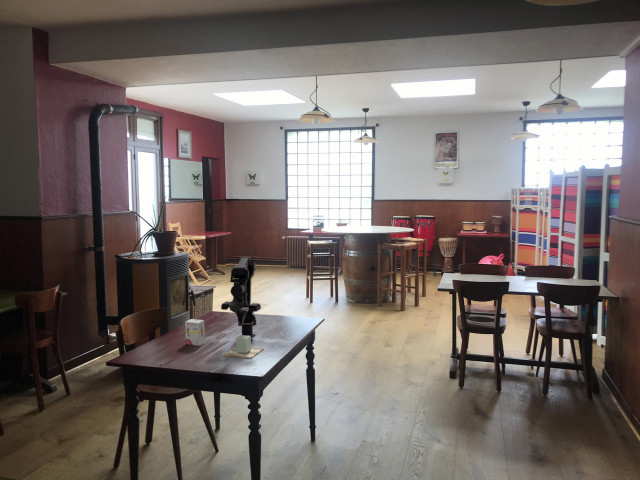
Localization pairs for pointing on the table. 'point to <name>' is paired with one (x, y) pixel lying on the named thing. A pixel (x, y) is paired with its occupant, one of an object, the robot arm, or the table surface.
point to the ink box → (195, 332)
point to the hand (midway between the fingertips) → (241, 323)
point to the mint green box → (243, 344)
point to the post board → (247, 355)
